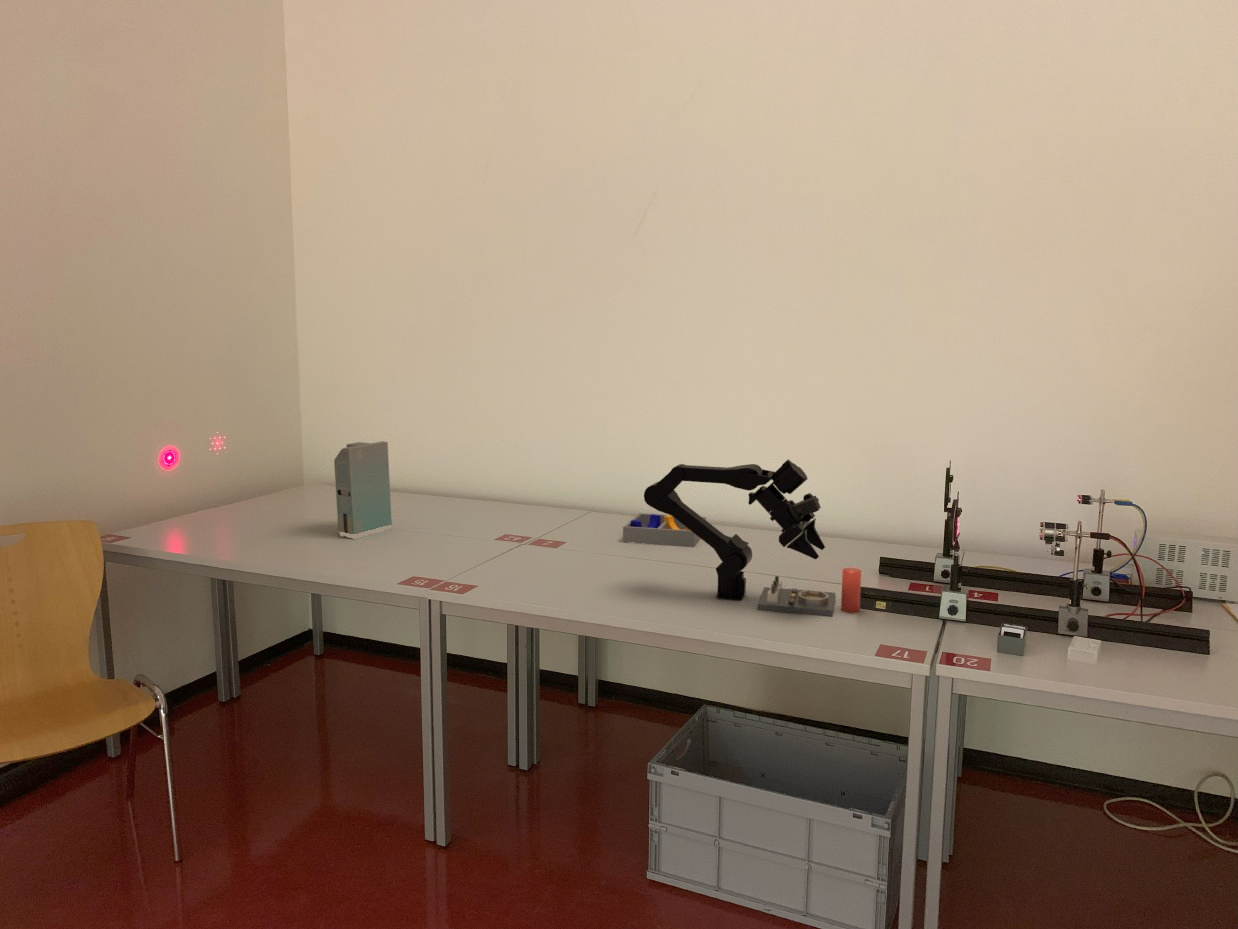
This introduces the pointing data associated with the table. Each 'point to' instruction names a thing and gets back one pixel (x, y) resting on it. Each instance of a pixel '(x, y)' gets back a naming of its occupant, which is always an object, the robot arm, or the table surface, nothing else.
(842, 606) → the cap
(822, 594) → the grey fixture base plate
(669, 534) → the parts tray
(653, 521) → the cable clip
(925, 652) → the table surface
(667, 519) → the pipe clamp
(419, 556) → the table surface
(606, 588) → the table surface
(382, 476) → the device
